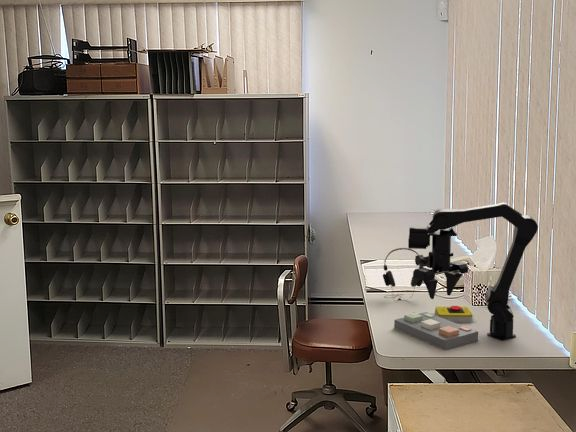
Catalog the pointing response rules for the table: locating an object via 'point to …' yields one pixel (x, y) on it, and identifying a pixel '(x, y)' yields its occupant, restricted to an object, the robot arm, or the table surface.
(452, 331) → the terracotta key
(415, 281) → the headphones
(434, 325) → the offwhite key
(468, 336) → the keypad
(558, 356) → the table surface
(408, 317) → the sage key
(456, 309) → the emergency button
